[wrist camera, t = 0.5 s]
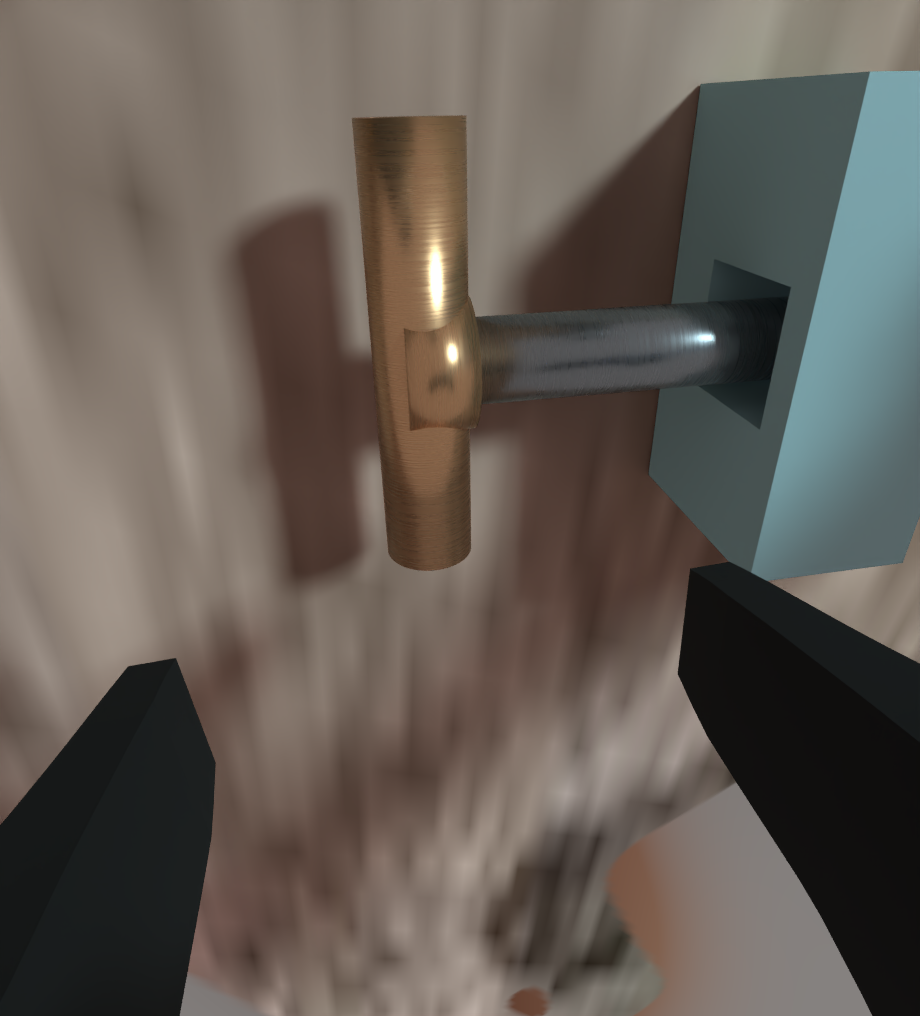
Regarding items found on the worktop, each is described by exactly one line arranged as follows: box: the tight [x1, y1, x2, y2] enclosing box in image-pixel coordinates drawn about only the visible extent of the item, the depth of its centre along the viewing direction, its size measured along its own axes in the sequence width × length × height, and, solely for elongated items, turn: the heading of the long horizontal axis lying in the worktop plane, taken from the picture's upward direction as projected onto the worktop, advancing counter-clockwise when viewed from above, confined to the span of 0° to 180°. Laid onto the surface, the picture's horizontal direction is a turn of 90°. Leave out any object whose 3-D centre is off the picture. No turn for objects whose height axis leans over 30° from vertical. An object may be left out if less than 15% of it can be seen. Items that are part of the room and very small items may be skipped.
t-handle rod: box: [352, 116, 789, 571], centre depth 15 cm, size 14×9×3 cm, turn 91°
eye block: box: [648, 71, 920, 581], centre depth 16 cm, size 4×10×6 cm, turn 1°
